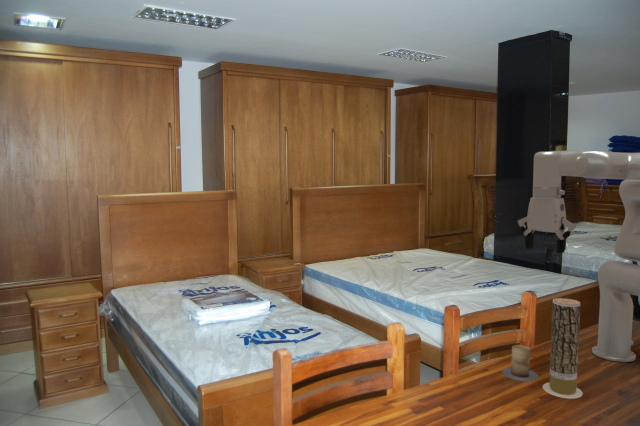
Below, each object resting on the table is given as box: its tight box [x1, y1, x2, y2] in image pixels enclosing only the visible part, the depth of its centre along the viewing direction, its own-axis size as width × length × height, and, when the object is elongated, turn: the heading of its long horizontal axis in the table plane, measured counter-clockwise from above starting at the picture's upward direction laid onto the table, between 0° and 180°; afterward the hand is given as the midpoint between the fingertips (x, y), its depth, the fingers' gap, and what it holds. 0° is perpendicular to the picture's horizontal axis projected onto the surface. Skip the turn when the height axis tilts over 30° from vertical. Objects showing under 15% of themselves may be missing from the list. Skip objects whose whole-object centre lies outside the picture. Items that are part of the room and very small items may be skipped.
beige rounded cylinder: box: [510, 344, 531, 378], centre depth 149 cm, size 5×5×8 cm
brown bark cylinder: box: [549, 297, 581, 394], centre depth 138 cm, size 7×7×25 cm
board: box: [501, 366, 539, 382], centre depth 144 cm, size 12×23×1 cm, turn 35°
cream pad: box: [542, 381, 584, 400], centre depth 139 cm, size 10×10×1 cm
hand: (544, 250), depth 150 cm, fingers open, 9 cm apart
